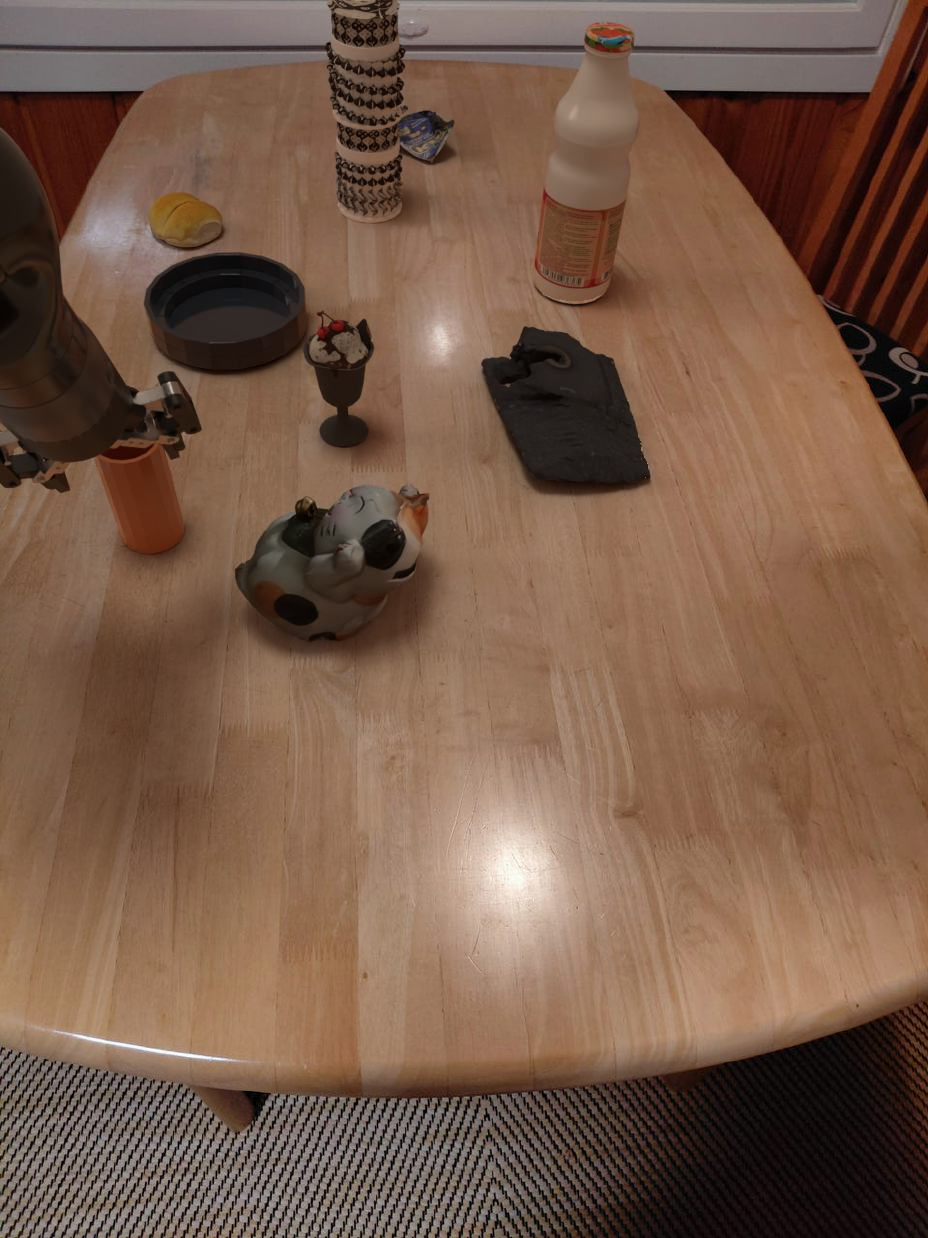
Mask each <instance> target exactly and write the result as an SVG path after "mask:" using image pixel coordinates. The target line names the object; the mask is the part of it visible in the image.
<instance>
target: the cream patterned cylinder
mask: <svg viewBox="0 0 928 1238" xmlns="http://www.w3.org/2000/svg"><path fill="white" fill-rule="evenodd" d="M326 5H327V7H328V9H329V10H330V12H331V15H330V22H331V31H330V35H329V36H330V41H327V42H326V43H325V45H324V49H325V51H326V56H327V57H328V63H327V64H326V69H327V70H328V71H329V76H328V78H327V81H328V83H329V89H330V90H331V95H330V97H329V100H330V102H331V103H332V104H331V106H332V116H333V118H334V120H335V121H336V128H337V135H336V138H335V140H336V141H335V143H336V151H335V152H334V157H335V162H336V163H335V165H334V166H335V169H336V175H337V176H336V178H335V184H336V188H337V189H336V196H337V200H338V203H337V208H338V210H339V212H340V214H341V215H343V216H344V217H346V218H347V219H349V220H352V221H355V222H357V223H366V224H376V223H377V224H378V223H384V222H385V223H386V222H387V221H389V220H392V219H395V218H396V217H397V216H399V214H400V213H402V209H403V202H402V197H403V193H402V192H401V191H402V186H403V184H404V182H403V181H402V172H403V167H402V160H403V154H402V151H401V145H400V138H399V136H398V121H400V120H401V118H402V116H403V114H402V110H401V108H400V105H402V104H403V101H404V100H405V97H404V95H403V93H402V92H401V91H403V88H404V86H405V81H404V80H402V78H401V77H400V76H398V75H400V74H402V73H404V70H405V69H406V64H405V63H404V61H403V60H402V59H404V58H405V54H406V52H407V51H406V48H405V47H404V46H403V45H402V44H401V43H400V33H399V28H398V27H399V15H398V14H399V11H400V7H401V4H400V3H399V1H398V0H328V1H327V3H326Z"/></svg>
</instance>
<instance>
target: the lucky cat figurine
mask: <svg viewBox="0 0 928 1238" xmlns="http://www.w3.org/2000/svg"><path fill="white" fill-rule="evenodd" d="M428 501H430V493H429V492H428V493H427V492H425V493H420V491H419V488H418V487H415V486H414V485H413V483H412V482H410V483H409V486H408V485H403V486H401V488H400V490H399V492H398V493H397V492H396V491H394V490H391V489H388V488H383V487H381V486H377V485H372V484H362V485H358V486H355V487H352V488H349V489H348V490H346V491H344V493H342V495H341V496H340V498H338V500H337V501H336V502H335V503H333V505H331V507H330V508H329V509H328V508H322V507H318V506H317V503H316V501H315V499H313V498H311V497H310V496H308V495H306V496H304V497H303V498H301V499H299V500H297V501H296V503H295V505H294V510H295V511H290V512H287V513H285V514H283V515H281V516H279V517H278V518H276V519H274V520H273V521H272V522H271V523H270V524H269V526H267V528H266V529H265V530H263V532H262V534H261V535H260V536H259V538H258V540H257V541H256V545H255V547H254V551H253V554H252V556H251V557H250V559H248V560H245V562H240V564H238V566H236V568H234V579H235V582H236V586H237V588H238V590H239V591H240V592H241V594H242V595H243V596H244V598H245V599H246V600H247V601H248V603H249V604H250V605H251V606H252V607H253V608H254V609H255V610H256V611H257V612H258V613H259V614H260V615H262V616H263V617H264V618H265V619H267V620H268V621H269V622H270V623H272V624H273V626H275V627H276V628H279V630H281V631H283V632H284V633H287V634H289V635H291V636H293V637H296V639H299V640H301V641H303V642H306V643H311V642H314V641H317V640H319V639H323V638H324V639H325V640H328V641H337V642H340V641H342V640H345V639H348V638H349V639H350V638H351V637H352V636H354V635H355V634H356V633H357V632H358V631H359V630H360V629H361V628H362V627H364V626H365V625H366V624H368V623H369V622H371V621H373V620H374V619H375V618H377V617H378V615H379V614H380V613H381V612H382V611H383V609H384V607H385V606H386V603H387V601H388V593H389V592H392V591H393V590H394V589H396V588H397V587H399V586H401V585H402V584H404V583H406V582H408V581H409V580H411V578H412V577H413V576H414V574H415V572H416V570H417V561H418V556H419V554H420V553H421V549H422V547H423V546H424V540H423V535H424V533H425V531H426V528H427V525H428V524H429V504H428Z"/></svg>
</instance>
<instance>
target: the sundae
mask: <svg viewBox="0 0 928 1238" xmlns="http://www.w3.org/2000/svg"><path fill="white" fill-rule="evenodd" d="M315 314H316V315H317V317H321V324H320V327H318V329H317V331H316V333H314V334H312V335H309V337H307V338H305V341H304V342H303V346H302V352H303V356H304V359H305V360H306V362H307V364H308V365H310V366H312V367H313V369H314V373H315V376H316V377H315V378H316V380H317V386H318V389H319V392H320V393H321V397H322V399H323V400H324V401H325V402H326V403H327V404H329V405H330V406H332V407H335V408H336V414H334V415H332V416H329V417H327V418H326V419H325V420H323V422H322V423H321V424H320V427H319V436H320V437H321V438H322V440H323V441H324V442H325V443H327V444H329V445H332V446H334V447H341V448H345V447H346V448H347V447H352V446H356V445H358V444H360V443H361V442H363V441H364V440H365V439H366V438H367V436H368V434H369V427H368V425H367V422H365V420H364V419H363V418H361V417H359V416H357V415H354V414H349V407H352V406H354V405H355V404H356V403H357V402H358V401H359V400H360V399H361V396H362V392H363V388H364V384H365V375H366V367H367V364H368V363H369V361H370V360H371V359H372V357H373V354H374V351H375V345H374V342H373V341H372V338H373V337H372V331H371V328H370V327H369V324H368V321H367V319H366V318H362V319H361V320H360V321H359V322H358V323H357V324H356V325H354V324H353V323H351V322H350V321H348V320H346V319H334V318H332V317H331V316H329V315H328V314H327V313H325V311H324V310H323V309H322V310H321V311H318V312H316V313H315ZM323 315H325V316H326V317H327V318H328V319H330V322H329V323H328V324H327V325H324V323H325V322H324V321H325V320H324V316H323Z"/></svg>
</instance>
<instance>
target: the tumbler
mask: <svg viewBox="0 0 928 1238" xmlns="http://www.w3.org/2000/svg"><path fill="white" fill-rule="evenodd" d="M155 427H156V425H155ZM133 432H136V431H135V430H134V431H133ZM93 459H94V462H95V465H96V468H97V471H98V474H99V477H100V480H101V482H102V486H103V489H104V491H105V495H106V497H107V500H108V503H109V506H110V508H111V511H112V514H113V517H114V520H115V523H116V526H117V528H118V532H119V535H120V537H121V539H122V541H123V543H124V545H125V546H126V547H127V548H128V549H129V550H132V551H134V552H136V553H140V554H144V555H145V554H146V555H152V554H159V553H162V552H165V551H168V550H170V549H172V548H174V547H175V546H176V545H177V544H179V542H180V541H181V540H182V538H183V536H184V534H185V530H186V529H185V528H186V526H185V521H184V517H183V513H182V509H181V506H180V503H179V499H178V495H177V491H176V487H175V483H174V480H173V475H172V472H171V469H170V465H169V461H168V457H167V453H166V451H165V449H164V448H163V446H162V444H157V443H153V444H152V445H150V446H149V447H147V448H136V447H127V446H119V447H117V448H109V449H108V450H106V451H105V452H103V453H102V454H100V455H98V456H96V457H94V458H93Z"/></svg>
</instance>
